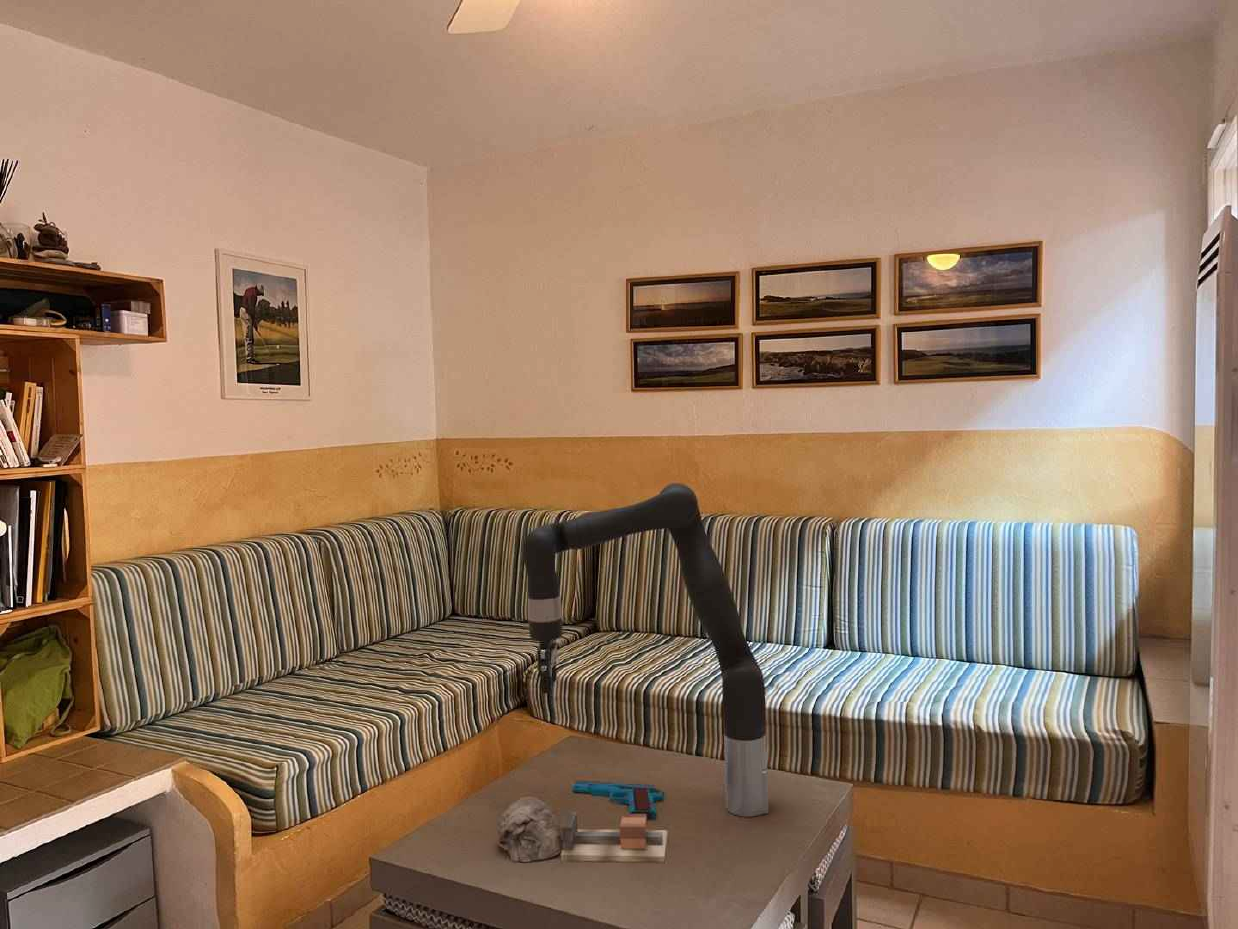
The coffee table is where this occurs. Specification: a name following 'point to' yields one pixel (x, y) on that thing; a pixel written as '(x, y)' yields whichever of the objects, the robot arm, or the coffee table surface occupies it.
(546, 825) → the rock
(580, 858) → the rail board
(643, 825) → the slider block
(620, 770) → the coffee table surface
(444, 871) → the coffee table surface
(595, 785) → the handgun
